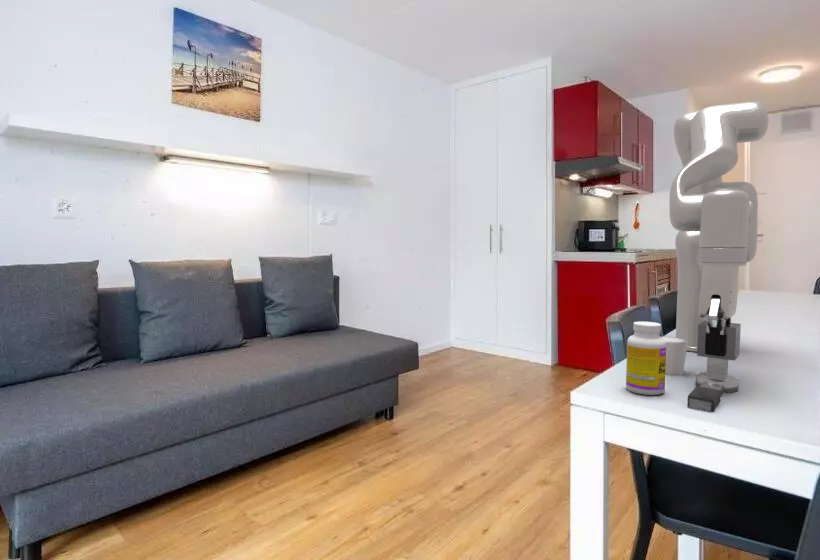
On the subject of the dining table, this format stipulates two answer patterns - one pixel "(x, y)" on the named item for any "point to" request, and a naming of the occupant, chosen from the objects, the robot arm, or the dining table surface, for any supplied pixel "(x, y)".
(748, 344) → the dining table surface
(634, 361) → the supplement bottle
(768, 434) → the dining table surface
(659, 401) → the dining table surface
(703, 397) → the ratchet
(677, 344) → the white cup
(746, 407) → the dining table surface
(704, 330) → the grey cube
